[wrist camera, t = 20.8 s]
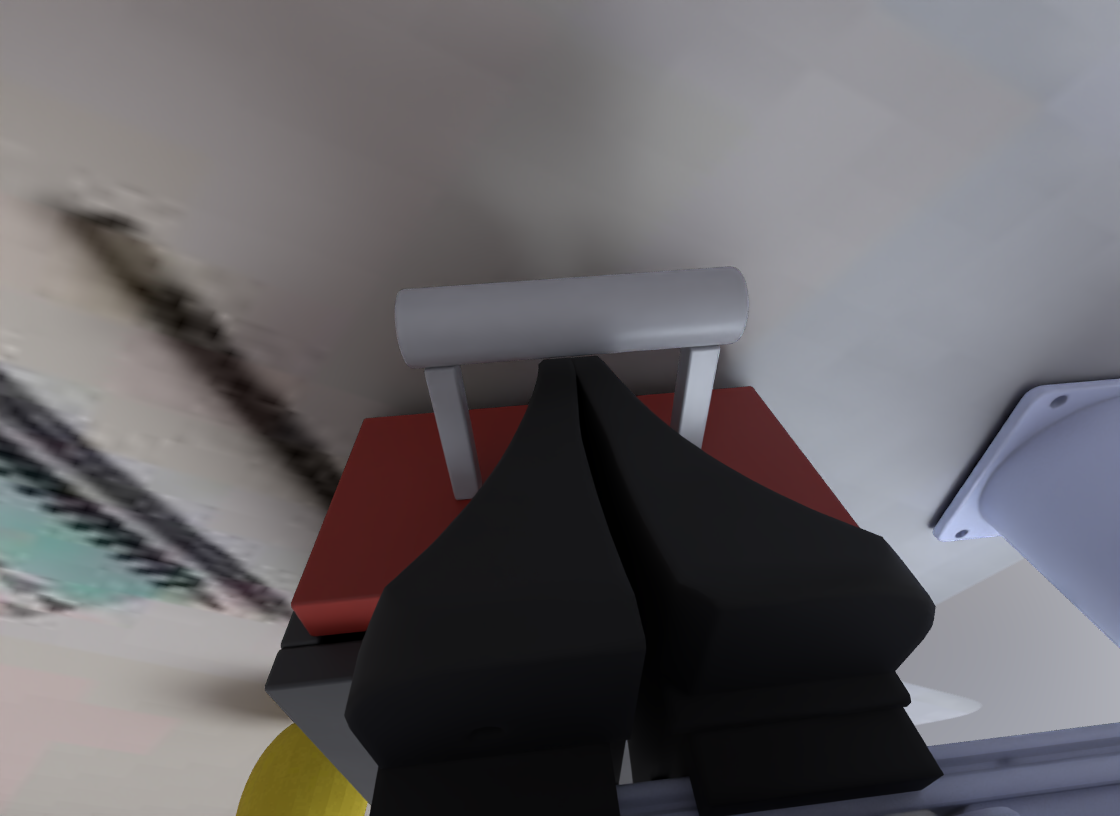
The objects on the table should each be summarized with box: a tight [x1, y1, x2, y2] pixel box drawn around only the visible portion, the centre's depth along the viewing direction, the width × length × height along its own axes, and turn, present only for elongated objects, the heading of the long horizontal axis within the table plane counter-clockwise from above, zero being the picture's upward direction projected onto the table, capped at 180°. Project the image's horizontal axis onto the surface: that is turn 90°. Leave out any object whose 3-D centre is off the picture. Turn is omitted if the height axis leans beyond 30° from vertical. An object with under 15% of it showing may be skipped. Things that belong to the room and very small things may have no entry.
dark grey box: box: [265, 611, 633, 805], centre depth 16 cm, size 15×13×8 cm
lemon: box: [236, 723, 368, 816], centre depth 22 cm, size 6×6×8 cm
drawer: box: [291, 267, 860, 637], centre depth 14 cm, size 18×11×6 cm, turn 1°
